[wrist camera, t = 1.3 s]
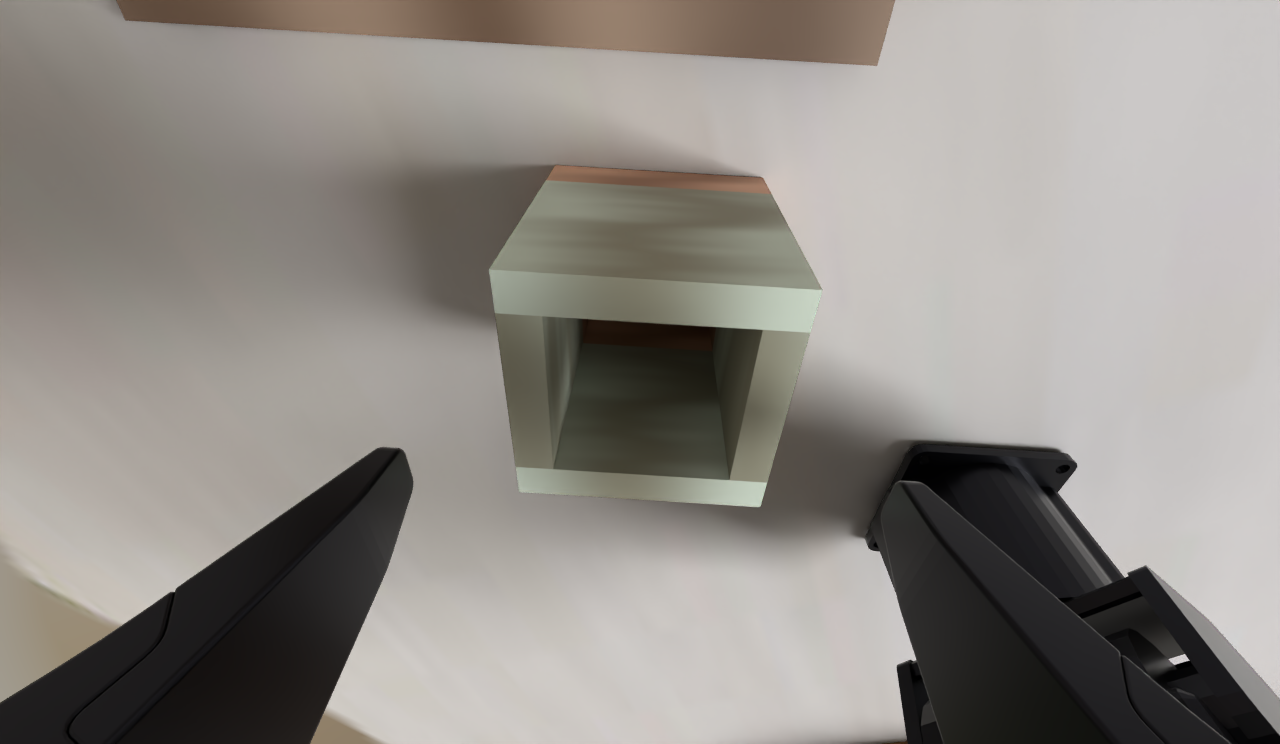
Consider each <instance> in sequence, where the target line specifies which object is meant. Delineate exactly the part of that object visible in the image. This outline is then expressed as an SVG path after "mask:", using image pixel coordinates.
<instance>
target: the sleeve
mask: <svg viewBox="0 0 1280 744" xmlns="http://www.w3.org/2000/svg"><path fill="white" fill-rule="evenodd" d="M489 274H490V282H491V289H492V296H493V304H494V311H495V319H496V326H497V333H498V341H499V348H500V355H501V363H502V370H503V377H504V385H505V392H506V400H507V407H508V414H509V422H510V429H511V436H512V444H513V451H514V458H515V466H516V473H517V481H518V488H519V492H526V493H542V494H558V495H573V496H589V497H605V498H621V499H637V500H653V501H669V502H685V503H701V504H716V505H732V506H748V507H760V506H761V503H762V499H763V496H764V492H765V489H766V485H767V482H768V478H769V475H770V471H771V468H772V464H773V461H774V457H775V454H776V450H777V447H778V443H779V440H780V436H781V433H782V430H783V426H784V423H785V419H786V416H787V412H788V409H789V405H790V402H791V398H792V395H793V391H794V388H795V384H796V381H797V377H798V374H799V370H800V367H801V363H802V360H803V356H804V353H805V349H806V346H807V343H808V339H809V336H810V332H811V329H812V325H813V322H814V318H815V315H816V311H817V308H818V304H819V301H820V297H821V294H822V288H821V286H820V284H819V283H818V281H817V279H816V277H815V275H814V273H813V271H812V269H811V267H810V266H809V264H808V262H807V260H806V258H805V256H804V254H803V252H802V251H801V249H800V247H799V245H798V243H797V241H796V239H795V237H794V235H793V234H792V232H791V230H790V228H789V226H788V224H787V222H786V220H785V219H784V217H783V215H782V213H781V211H780V209H779V207H778V205H777V203H776V202H775V200H774V198H773V196H772V194H771V192H770V190H769V188H768V187H767V185H766V183H765V181H764V179H763V178H758V177H742V176H725V175H709V174H693V173H676V172H660V171H644V170H627V169H611V168H595V167H578V166H562V165H555V167H554V168H553V170H552V171H551V173H550V175H549V176H548V178H547V179H546V181H545V182H544V184H543V185H542V187H541V189H540V190H539V192H538V193H537V195H536V196H535V198H534V200H533V201H532V203H531V204H530V206H529V207H528V209H527V211H526V212H525V214H524V215H523V217H522V218H521V220H520V222H519V223H518V225H517V226H516V228H515V229H514V231H513V232H512V234H511V236H510V237H509V239H508V240H507V242H506V243H505V245H504V247H503V248H502V250H501V251H500V253H499V254H498V256H497V258H496V259H495V261H494V262H493V264H492V265H491V267H490V269H489ZM588 319H596V320H588ZM603 320H612V321H603ZM619 321H629V322H619ZM635 322H645V323H635ZM652 323H661V324H652ZM668 324H677V325H668ZM684 325H693V326H684ZM700 326H709V327H700Z"/></svg>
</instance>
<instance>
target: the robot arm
mask: <svg viewBox="0 0 1280 744" xmlns="http://www.w3.org/2000/svg"><path fill="white" fill-rule="evenodd" d="M922 456H923V457H922ZM1076 468H1077V463H1076V462H1075V461H1074V460H1073V459H1072V458H1071V456H1069V455H1068V454H1066V453H1056V452H1040V451H1024V450H1008V449H992V448H976V447H960V446H944V445H928V444H922V445H917V446H914V447H913V448H911V449H910V450H909V451H908V453H907V455H906V457H905V459H904V461H903V463H902V465H901V467H900V469H899V471H898V473H897V475H896V477H895V479H894V481H893V483H892V485H891V487H890V488H889V489H888V491H887V493H886V495H885V497H884V499H883V501H882V503H881V505H880V507H879V509H878V511H877V513H876V515H875V517H874V519H873V521H872V523H871V525H870V529H869V531H868V533H867V535H866V537H865V540H866V543H867V545H868V548H869V549H871V550H873V551H880V553H881V556H882V558H883V561H884V563H885V566H886V568H887V571H888V574H889V576H890V579H891V581H892V584H893V587H894V589H895V592H896V595H897V599H898V603H899V606H900V610H901V613H902V616H903V619H904V623H905V626H906V629H907V632H908V635H909V638H910V641H911V644H912V647H913V650H914V653H915V657H916V661H912V660H908V661H906V662H903V663H901V664H898V665H897V673H898V680H899V687H900V694H901V701H902V708H903V715H904V722H905V729H906V736H907V742H908V744H1280V699H1279V698H1278V697H1277V695H1276V694H1275V693H1274V692H1273V691H1272V689H1271V688H1270V687H1269V686H1268V685H1267V684H1266V683H1265V681H1264V680H1263V679H1262V678H1261V677H1260V676H1259V675H1258V674H1257V673H1256V671H1255V670H1254V669H1253V668H1252V667H1251V666H1250V665H1249V664H1248V663H1247V662H1246V660H1245V659H1244V658H1243V657H1242V656H1241V655H1240V654H1239V653H1238V652H1237V650H1236V649H1235V648H1234V647H1233V646H1232V645H1231V644H1230V643H1229V642H1228V640H1227V639H1226V638H1225V637H1224V636H1223V635H1222V634H1221V633H1220V632H1219V630H1218V629H1217V628H1216V627H1215V626H1214V625H1213V624H1212V623H1211V622H1210V621H1209V620H1208V619H1207V618H1206V617H1205V616H1204V615H1203V614H1202V613H1201V612H1199V611H1198V610H1197V609H1196V608H1195V607H1194V606H1192V605H1191V604H1190V603H1189V602H1188V601H1187V600H1186V599H1184V598H1183V597H1182V596H1181V595H1180V594H1179V593H1177V592H1176V591H1175V590H1174V589H1173V588H1172V587H1171V586H1169V585H1168V584H1167V583H1166V582H1165V581H1164V580H1162V579H1161V578H1160V577H1159V576H1158V575H1157V574H1156V573H1154V572H1153V571H1152V570H1151V569H1150V568H1149V567H1147V566H1143V567H1141V568H1138V569H1136V570H1133V571H1131V572H1128V573H1127V574H1128V575H1129V576H1128V577H1126V578H1124V576H1123V575H1122V574H1121V573H1120V571H1119V570H1118V569H1117V567H1116V566H1115V565H1114V564H1113V562H1112V561H1111V560H1110V559H1109V557H1108V556H1107V555H1106V553H1105V552H1104V551H1103V550H1102V548H1101V547H1100V546H1099V545H1098V543H1097V542H1096V541H1095V540H1094V538H1093V537H1092V536H1091V534H1090V533H1089V532H1088V531H1087V529H1086V528H1085V527H1084V526H1083V524H1082V523H1081V522H1080V520H1079V519H1078V518H1077V517H1076V515H1075V514H1074V513H1073V512H1072V510H1071V509H1070V508H1069V506H1068V505H1067V504H1066V503H1065V501H1064V500H1063V499H1062V498H1061V496H1060V495H1059V494H1058V491H1059V490H1060V489H1061V487H1062V486H1063V485H1064V484H1065V482H1066V481H1067V480H1068V479H1069V477H1070V476H1071V475H1072V474H1073V472H1074V471H1075V470H1076ZM412 490H413V477H412V474H411V470H410V467H409V464H408V461H407V458H406V454H405V452H404V451H403V450H402V449H400V448H390V447H380V448H377V449H375V450H374V451H372V452H371V453H369V454H368V455H366V456H365V457H364V458H362V459H361V460H359V461H358V462H356V463H355V464H354V465H352V466H351V467H349V468H348V469H346V470H345V471H344V472H342V473H341V474H339V475H338V476H336V477H335V478H334V479H332V480H331V481H329V482H328V483H326V484H325V485H323V486H322V487H321V488H319V489H318V490H316V491H315V492H313V493H312V494H311V495H309V496H308V497H306V498H305V499H303V500H302V501H301V502H299V503H298V504H296V505H295V506H293V507H292V508H290V509H289V510H288V511H286V512H285V513H283V514H282V515H280V516H279V517H278V518H276V519H275V520H273V521H272V522H270V523H269V524H268V525H266V526H265V527H263V528H262V529H260V530H259V531H258V532H256V533H255V534H253V535H252V536H250V537H249V538H247V539H246V540H245V541H243V542H242V543H240V544H239V545H237V546H236V547H235V548H233V549H232V550H230V551H229V552H227V553H226V554H225V555H223V556H222V557H220V558H219V559H217V560H216V561H214V562H213V563H212V564H210V565H209V566H207V567H206V568H204V569H203V570H202V571H200V572H199V573H197V574H196V575H194V576H193V577H192V578H190V579H189V580H187V581H186V582H184V583H183V584H182V585H180V586H179V587H177V588H176V590H175V592H170V593H168V594H167V595H165V596H164V597H163V598H161V599H160V600H158V601H157V602H155V603H154V604H153V605H151V606H150V607H148V608H147V609H145V610H144V611H142V612H141V613H140V614H138V615H137V616H135V617H134V618H132V619H131V620H129V621H128V622H126V623H125V624H123V625H122V626H120V627H119V628H117V629H116V630H114V631H113V632H112V633H110V634H108V635H107V636H105V637H104V638H103V639H101V640H99V641H98V642H96V643H95V644H93V645H92V646H90V647H88V648H87V649H85V650H84V651H82V652H81V653H79V654H77V655H76V656H74V657H73V658H71V659H70V660H68V661H66V662H65V663H63V664H62V665H60V666H59V667H57V668H55V669H54V670H52V671H51V672H49V673H47V674H46V675H44V676H43V677H41V678H39V679H38V680H36V681H35V682H33V683H31V684H30V685H28V686H26V687H25V688H23V689H22V690H20V691H18V692H17V693H15V694H13V695H12V696H10V697H9V698H7V699H5V700H4V701H2V702H1V703H0V744H310V743H311V740H312V738H313V736H314V733H315V731H316V729H317V727H318V725H319V722H320V720H321V718H322V715H323V713H324V711H325V709H326V707H327V704H328V702H329V700H330V698H331V695H332V693H333V691H334V689H335V686H336V684H337V682H338V679H339V677H340V675H341V673H342V670H343V668H344V666H345V664H346V661H347V659H348V657H349V655H350V652H351V650H352V648H353V646H354V643H355V641H356V639H357V637H358V634H359V632H360V630H361V628H362V625H363V623H364V621H365V619H366V616H367V614H368V612H369V610H370V607H371V605H372V603H373V601H374V598H375V596H376V594H377V591H378V589H379V587H380V585H381V582H382V580H383V578H384V575H385V573H386V570H387V568H388V565H389V562H390V559H391V557H392V554H393V550H394V547H395V544H396V541H397V538H398V535H399V531H400V528H401V525H402V522H403V519H404V516H405V513H406V509H407V506H408V503H409V500H410V497H411V494H412ZM1183 654H1185V655H1186V656H1187V657H1188V659H1189V660H1190V661H1186V662H1183V663H1180V664H1177V665H1173V664H1172V663H1171V662H1170V661H1169V660H1168V659H1170V658H1173V657H1176V656H1180V655H1183Z"/></svg>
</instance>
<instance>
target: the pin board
mask: <svg viewBox="0 0 1280 744" xmlns="http://www.w3.org/2000/svg"><path fill="white" fill-rule="evenodd" d="M116 1H117V3H118V5H119V7H120V9H121V12H122V14H123V16H124V18H125V20H129V21H146V22H162V23H179V24H195V25H212V26H228V27H245V28H261V29H278V30H294V31H311V32H327V33H344V34H360V35H377V36H393V37H410V38H426V39H443V40H459V41H476V42H493V43H509V44H526V45H542V46H559V47H575V48H592V49H608V50H625V51H641V52H658V53H674V54H691V55H707V56H724V57H740V58H757V59H773V60H790V61H806V62H823V63H839V64H856V65H872V66H877V64H878V60H879V57H880V53H881V49H882V46H883V42H884V39H885V35H886V31H887V28H888V24H889V21H890V17H891V13H892V10H893V6H894V3H895V0H116Z"/></svg>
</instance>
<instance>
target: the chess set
mask: <svg viewBox="0 0 1280 744" xmlns="http://www.w3.org/2000/svg"><path fill="white" fill-rule="evenodd" d="M883 744H908V742H907V741H905V742H894V743H883Z"/></svg>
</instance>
